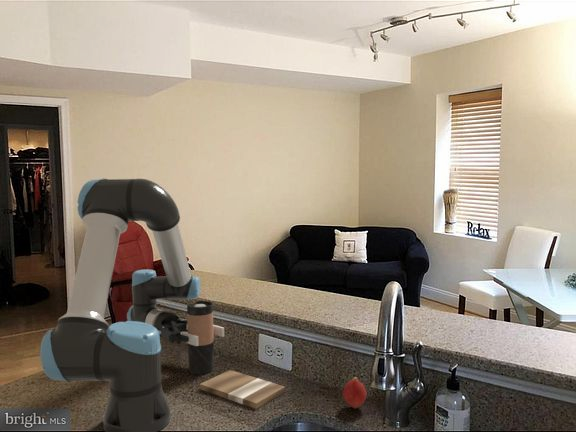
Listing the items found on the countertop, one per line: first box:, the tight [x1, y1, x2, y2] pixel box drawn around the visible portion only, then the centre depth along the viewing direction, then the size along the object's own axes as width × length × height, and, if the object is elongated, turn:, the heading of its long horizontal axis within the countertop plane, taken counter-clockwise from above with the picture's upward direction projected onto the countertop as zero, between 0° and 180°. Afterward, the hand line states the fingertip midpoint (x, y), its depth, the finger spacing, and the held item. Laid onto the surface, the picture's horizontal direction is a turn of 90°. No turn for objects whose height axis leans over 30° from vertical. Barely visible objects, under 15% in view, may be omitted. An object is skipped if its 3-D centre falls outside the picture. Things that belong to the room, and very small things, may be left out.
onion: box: [342, 376, 367, 409], centre depth 126 cm, size 6×6×8 cm
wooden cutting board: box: [199, 369, 286, 410], centre depth 137 cm, size 20×12×2 cm, turn 54°
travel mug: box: [186, 300, 215, 375], centre depth 151 cm, size 8×8×20 cm
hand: (210, 336), depth 148 cm, fingers open, 9 cm apart
